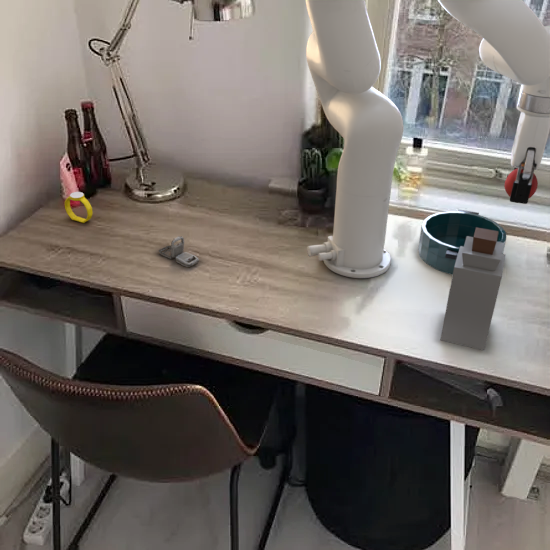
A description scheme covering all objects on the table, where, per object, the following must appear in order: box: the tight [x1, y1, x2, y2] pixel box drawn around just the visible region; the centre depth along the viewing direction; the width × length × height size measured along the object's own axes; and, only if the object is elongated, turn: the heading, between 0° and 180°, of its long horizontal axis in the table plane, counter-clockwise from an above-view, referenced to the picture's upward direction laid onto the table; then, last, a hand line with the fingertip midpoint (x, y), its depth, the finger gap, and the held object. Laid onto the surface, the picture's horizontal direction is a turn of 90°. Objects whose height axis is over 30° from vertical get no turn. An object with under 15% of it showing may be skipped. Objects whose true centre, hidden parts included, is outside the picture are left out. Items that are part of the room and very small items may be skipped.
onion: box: [503, 163, 539, 199], centre depth 122 cm, size 6×6×8 cm
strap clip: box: [158, 235, 200, 268], centre depth 121 cm, size 8×3×4 cm, turn 50°
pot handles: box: [445, 209, 480, 260], centre depth 122 cm, size 19×4×1 cm, turn 160°
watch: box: [64, 191, 94, 224], centre depth 132 cm, size 6×3×6 cm, turn 66°
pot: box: [417, 210, 508, 276], centre depth 123 cm, size 15×15×6 cm
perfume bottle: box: [439, 227, 506, 351], centre depth 99 cm, size 7×7×18 cm
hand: (518, 194), depth 124 cm, fingers closed on onion, 5 cm apart
